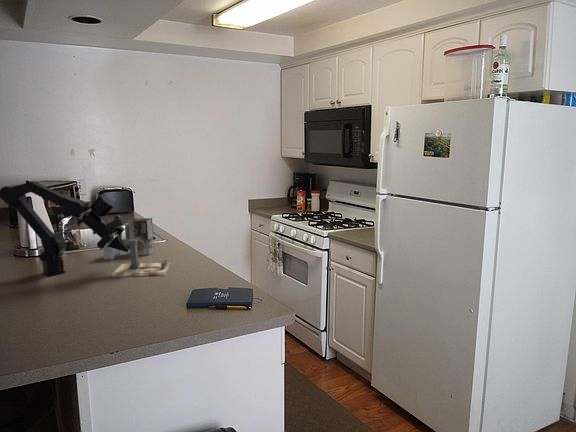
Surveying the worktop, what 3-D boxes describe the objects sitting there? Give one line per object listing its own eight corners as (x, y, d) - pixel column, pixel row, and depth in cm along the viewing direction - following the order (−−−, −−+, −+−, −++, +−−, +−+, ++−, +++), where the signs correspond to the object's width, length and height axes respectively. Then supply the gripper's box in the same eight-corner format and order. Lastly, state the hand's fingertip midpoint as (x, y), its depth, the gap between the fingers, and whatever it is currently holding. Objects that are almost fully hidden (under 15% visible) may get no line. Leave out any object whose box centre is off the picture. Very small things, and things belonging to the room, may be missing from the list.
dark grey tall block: (129, 268, 182) (127, 241, 180) (132, 265, 186) (130, 238, 184) (137, 268, 182) (135, 240, 180) (140, 265, 186) (138, 238, 184)
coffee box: (154, 251, 216) (152, 218, 213) (149, 255, 209) (147, 220, 207) (136, 251, 217) (133, 217, 214) (130, 254, 210) (127, 220, 207)
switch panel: (112, 276, 177) (111, 267, 176) (122, 266, 191) (121, 258, 190) (164, 275, 178) (164, 266, 178) (171, 265, 192) (170, 257, 191)
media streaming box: (115, 245, 229) (115, 240, 229) (142, 241, 240) (142, 235, 239) (129, 250, 219) (128, 244, 219) (156, 245, 230) (156, 239, 229)
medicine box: (113, 259, 202) (112, 240, 200) (103, 259, 202) (102, 240, 201) (120, 255, 210) (119, 236, 208) (111, 255, 210) (109, 236, 208)
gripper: (103, 214, 170) (135, 242, 173) (117, 206, 189) (147, 232, 191) (83, 235, 171) (115, 262, 174) (100, 225, 190) (129, 250, 192)
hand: (127, 251), depth 183 cm, fingers closed
